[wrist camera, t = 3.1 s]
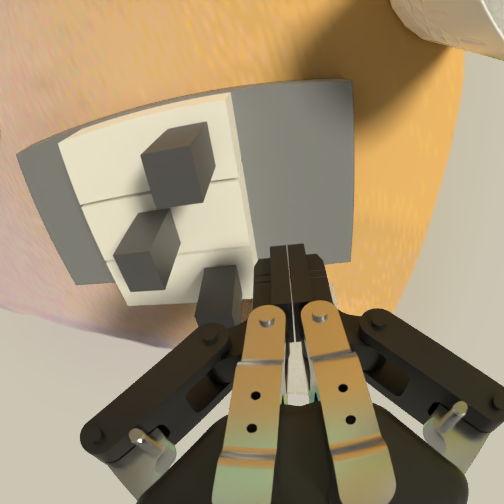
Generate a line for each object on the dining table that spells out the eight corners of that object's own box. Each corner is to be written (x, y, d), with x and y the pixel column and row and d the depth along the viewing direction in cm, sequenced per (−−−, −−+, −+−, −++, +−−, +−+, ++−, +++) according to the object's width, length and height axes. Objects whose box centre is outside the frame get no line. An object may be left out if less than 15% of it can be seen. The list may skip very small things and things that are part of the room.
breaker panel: (30, 145, 19) (-47, 201, 11) (343, 78, 17) (406, 102, 9) (84, 271, 27) (43, 346, 19) (344, 246, 24) (375, 337, 17)
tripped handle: (138, 212, 17) (112, 255, 14) (170, 207, 17) (149, 251, 13) (150, 246, 18) (130, 291, 15) (180, 243, 18) (165, 289, 15)
